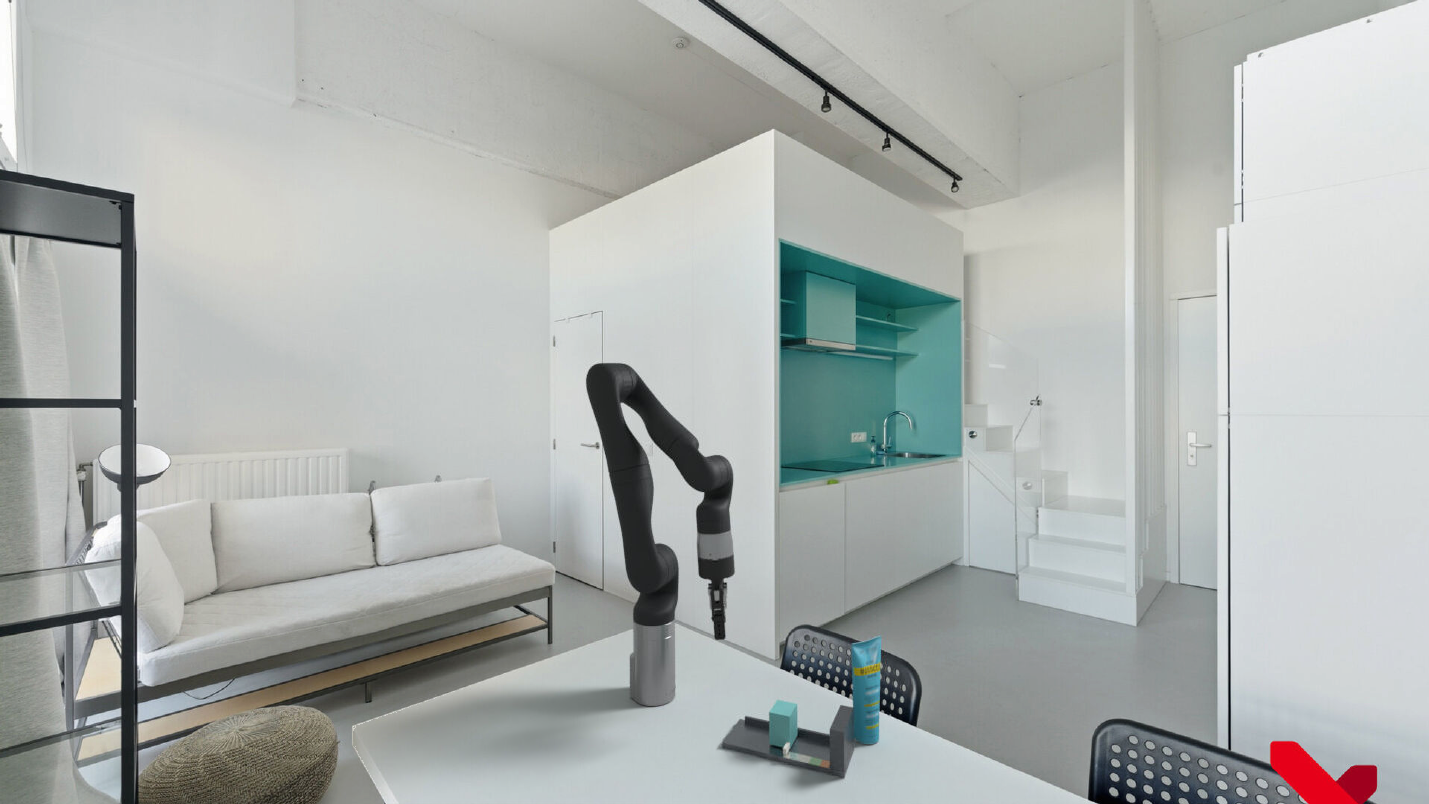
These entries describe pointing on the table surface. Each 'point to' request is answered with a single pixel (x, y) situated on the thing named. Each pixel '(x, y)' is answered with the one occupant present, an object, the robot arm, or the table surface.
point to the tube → (866, 689)
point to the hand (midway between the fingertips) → (720, 630)
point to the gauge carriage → (783, 724)
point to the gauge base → (799, 744)
